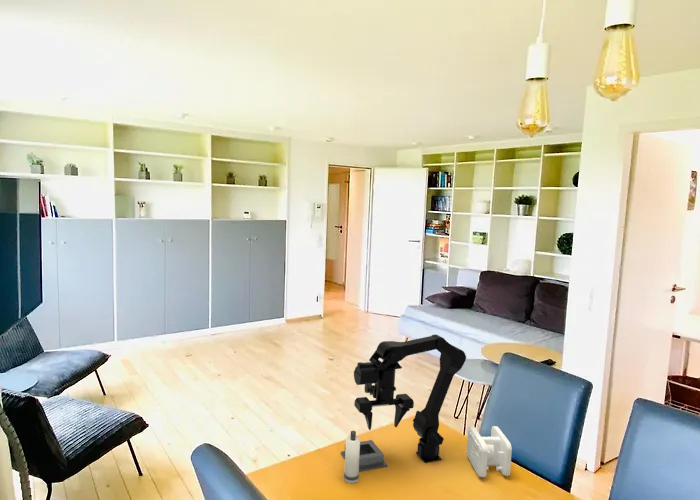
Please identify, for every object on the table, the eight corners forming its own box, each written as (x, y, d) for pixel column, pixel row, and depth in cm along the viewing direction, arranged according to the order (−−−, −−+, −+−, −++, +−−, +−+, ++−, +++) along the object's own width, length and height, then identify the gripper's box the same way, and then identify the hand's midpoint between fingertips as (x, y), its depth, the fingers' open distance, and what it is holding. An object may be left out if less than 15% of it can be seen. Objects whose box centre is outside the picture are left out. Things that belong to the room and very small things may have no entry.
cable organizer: (511, 481, 146) (514, 446, 145) (478, 481, 145) (481, 446, 144) (494, 455, 161) (496, 423, 159) (464, 455, 160) (466, 423, 159)
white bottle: (355, 473, 146) (357, 427, 145) (360, 482, 142) (363, 434, 141) (341, 476, 145) (343, 429, 143) (347, 484, 141) (349, 436, 139)
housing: (372, 447, 162) (373, 438, 162) (387, 466, 151) (388, 455, 151) (340, 453, 158) (341, 443, 158) (353, 472, 147) (354, 461, 147)
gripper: (401, 371, 159) (398, 414, 161) (350, 374, 153) (347, 419, 155) (416, 383, 149) (412, 429, 150) (361, 387, 143) (358, 435, 144)
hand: (382, 428), depth 150 cm, fingers open, 9 cm apart
